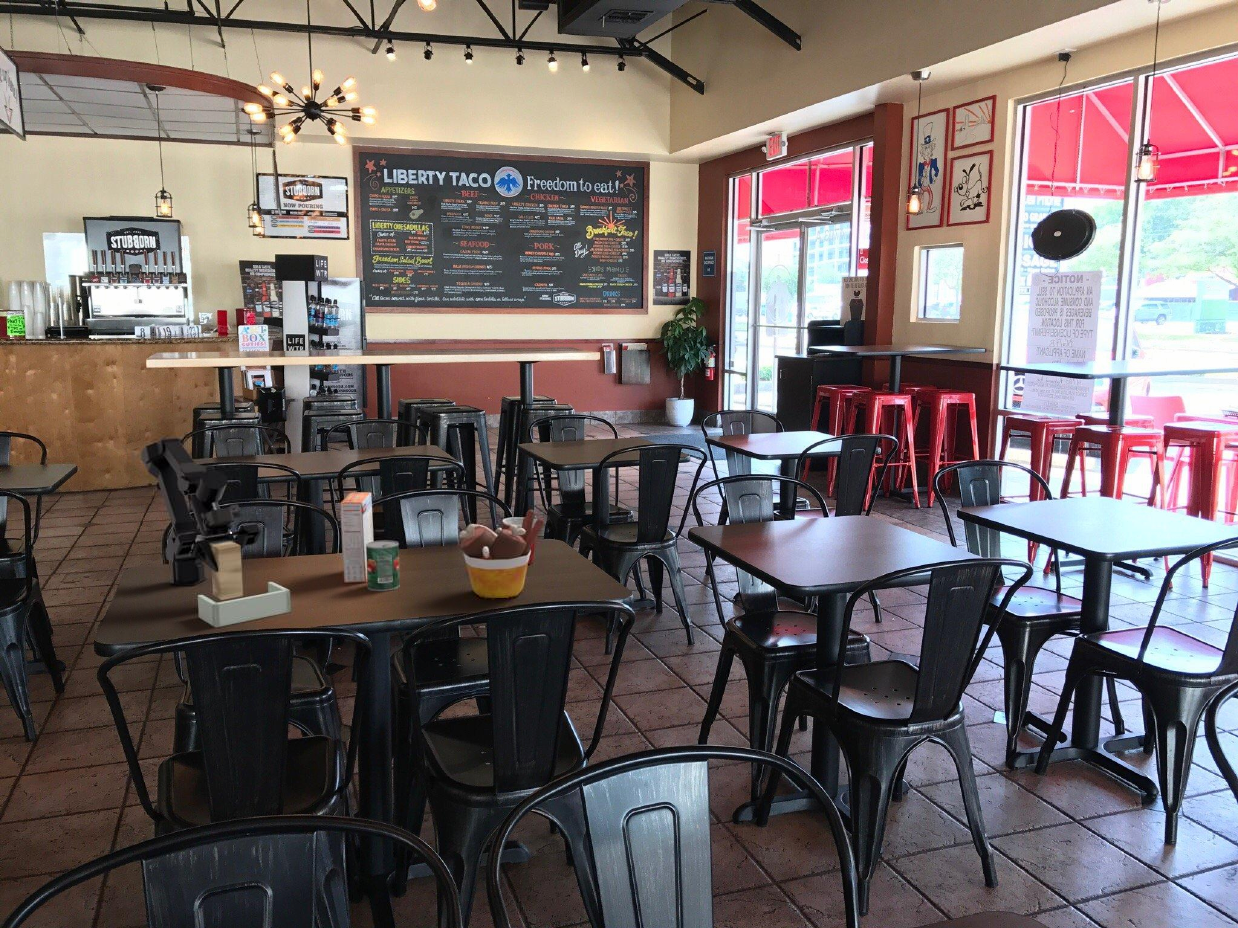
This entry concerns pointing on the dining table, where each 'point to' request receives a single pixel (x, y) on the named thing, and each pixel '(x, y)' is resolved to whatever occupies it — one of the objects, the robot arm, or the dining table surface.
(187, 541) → the robot arm
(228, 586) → the maple block
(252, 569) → the dining table surface
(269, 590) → the open-side box
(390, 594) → the dining table surface
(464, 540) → the bucket of meat
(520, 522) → the plastic cup
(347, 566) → the cracker box
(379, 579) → the canned tomato
